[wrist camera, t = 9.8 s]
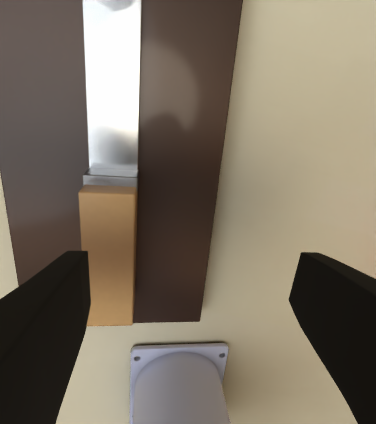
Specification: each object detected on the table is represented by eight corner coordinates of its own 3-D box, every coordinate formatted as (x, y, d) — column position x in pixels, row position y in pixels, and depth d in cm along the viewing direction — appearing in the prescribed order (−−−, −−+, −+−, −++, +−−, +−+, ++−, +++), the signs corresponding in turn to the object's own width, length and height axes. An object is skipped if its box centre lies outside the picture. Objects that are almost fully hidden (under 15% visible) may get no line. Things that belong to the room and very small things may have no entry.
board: (197, 307, 22) (200, 321, 21) (33, 309, 20) (24, 325, 19) (238, -24, 14) (248, -36, 13) (-21, -66, 13) (-42, -86, 11)
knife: (136, 292, 19) (133, 325, 16) (94, 292, 19) (84, 327, 16) (144, -52, 12) (142, -95, 9) (80, -63, 12) (58, -112, 9)
